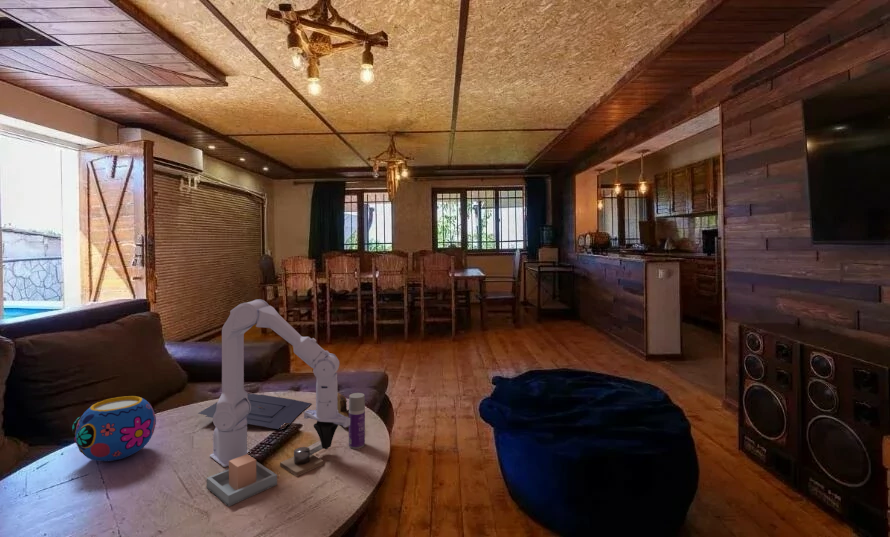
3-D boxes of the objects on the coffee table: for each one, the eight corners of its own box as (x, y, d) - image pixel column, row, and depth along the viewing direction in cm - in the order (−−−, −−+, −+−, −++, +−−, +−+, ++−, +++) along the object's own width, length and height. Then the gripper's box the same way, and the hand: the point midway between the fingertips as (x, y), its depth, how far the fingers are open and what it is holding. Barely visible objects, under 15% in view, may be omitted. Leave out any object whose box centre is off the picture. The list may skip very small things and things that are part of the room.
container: (361, 449, 122) (361, 398, 121) (345, 447, 123) (346, 397, 122) (367, 442, 126) (367, 393, 126) (352, 440, 127) (352, 392, 127)
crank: (301, 465, 110) (301, 449, 110) (290, 461, 112) (290, 446, 112) (333, 447, 120) (333, 433, 120) (323, 444, 122) (323, 430, 122)
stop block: (228, 485, 102) (228, 460, 101) (247, 477, 105) (247, 454, 105) (237, 491, 99) (237, 466, 99) (256, 483, 102) (256, 459, 102)
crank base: (279, 466, 112) (280, 461, 112) (306, 454, 118) (306, 451, 118) (296, 476, 107) (296, 472, 107) (323, 464, 113) (323, 460, 113)
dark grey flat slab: (234, 398, 159) (235, 388, 159) (311, 410, 158) (312, 400, 158) (192, 424, 135) (193, 413, 135) (283, 438, 134) (284, 427, 134)
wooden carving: (358, 429, 136) (358, 398, 135) (345, 433, 133) (345, 402, 132) (335, 414, 148) (336, 386, 148) (323, 417, 145) (323, 388, 145)
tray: (206, 487, 101) (206, 477, 101) (253, 468, 110) (253, 459, 110) (228, 506, 94) (228, 495, 94) (277, 484, 103) (277, 474, 103)
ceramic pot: (70, 456, 116) (69, 402, 115) (148, 436, 129) (147, 388, 128) (79, 480, 104) (78, 421, 103) (163, 455, 117) (163, 402, 116)
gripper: (357, 398, 117) (356, 446, 117) (316, 391, 123) (316, 436, 123) (341, 407, 110) (340, 457, 111) (298, 398, 116) (298, 446, 117)
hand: (326, 447), depth 117 cm, fingers closed
